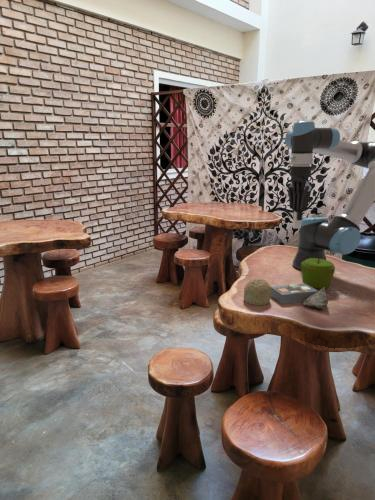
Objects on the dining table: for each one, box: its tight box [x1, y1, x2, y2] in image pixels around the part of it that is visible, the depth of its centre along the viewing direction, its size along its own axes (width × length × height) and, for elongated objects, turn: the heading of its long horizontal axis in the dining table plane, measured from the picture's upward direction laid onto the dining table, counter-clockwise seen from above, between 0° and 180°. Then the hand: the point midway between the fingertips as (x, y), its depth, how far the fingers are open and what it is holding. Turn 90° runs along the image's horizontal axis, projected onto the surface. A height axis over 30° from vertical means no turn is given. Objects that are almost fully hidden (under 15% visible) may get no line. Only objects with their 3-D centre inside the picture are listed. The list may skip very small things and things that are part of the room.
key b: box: [287, 283, 301, 291], centre depth 129 cm, size 3×3×2 cm
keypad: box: [271, 283, 319, 305], centre depth 130 cm, size 14×8×4 cm, turn 106°
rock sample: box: [302, 287, 329, 311], centre depth 123 cm, size 10×8×9 cm
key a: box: [301, 286, 311, 290], centre depth 131 cm, size 3×3×2 cm
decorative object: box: [243, 278, 272, 306], centre depth 126 cm, size 9×10×10 cm
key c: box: [277, 288, 290, 293], centre depth 128 cm, size 3×3×2 cm
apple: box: [300, 258, 336, 290], centre depth 140 cm, size 12×12×11 cm
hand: (296, 227), depth 140 cm, fingers closed
